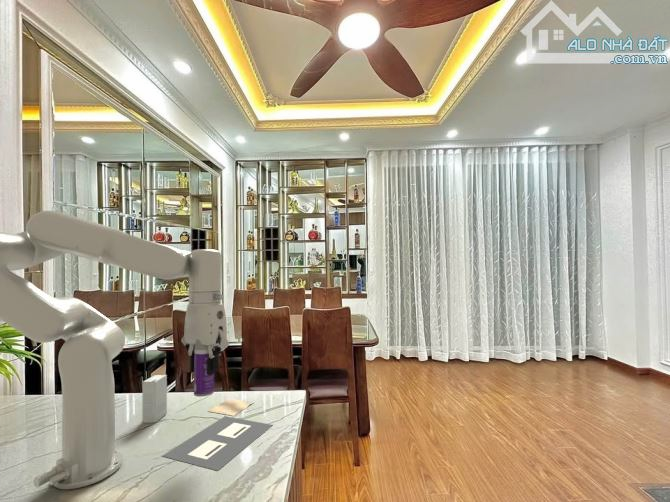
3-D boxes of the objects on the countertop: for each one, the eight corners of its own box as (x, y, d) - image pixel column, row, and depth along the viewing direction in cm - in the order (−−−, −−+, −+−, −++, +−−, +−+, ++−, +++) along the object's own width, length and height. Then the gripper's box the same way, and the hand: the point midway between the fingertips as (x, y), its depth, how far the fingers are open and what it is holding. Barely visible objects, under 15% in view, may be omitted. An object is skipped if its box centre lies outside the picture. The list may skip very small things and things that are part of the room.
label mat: (217, 470, 73) (217, 470, 73) (161, 456, 80) (161, 455, 80) (272, 425, 93) (272, 424, 93) (224, 416, 100) (224, 415, 100)
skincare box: (154, 413, 103) (153, 374, 104) (167, 413, 103) (167, 374, 103) (141, 423, 97) (141, 381, 97) (156, 423, 97) (155, 381, 97)
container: (207, 397, 79) (207, 334, 80) (189, 395, 80) (190, 333, 81) (217, 390, 84) (218, 330, 85) (201, 388, 85) (201, 329, 86)
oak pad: (233, 416, 100) (233, 415, 100) (207, 411, 104) (207, 411, 104) (253, 402, 109) (253, 402, 109) (229, 399, 113) (229, 398, 113)
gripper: (242, 298, 84) (241, 371, 83) (191, 296, 90) (190, 364, 89) (221, 301, 77) (220, 381, 76) (167, 298, 83) (166, 372, 82)
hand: (204, 371), depth 82 cm, fingers closed on container, 4 cm apart
